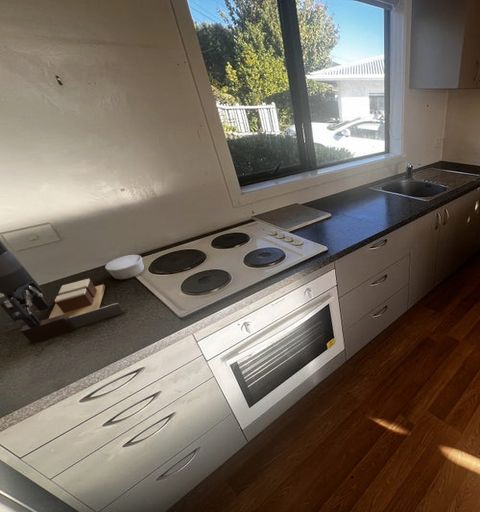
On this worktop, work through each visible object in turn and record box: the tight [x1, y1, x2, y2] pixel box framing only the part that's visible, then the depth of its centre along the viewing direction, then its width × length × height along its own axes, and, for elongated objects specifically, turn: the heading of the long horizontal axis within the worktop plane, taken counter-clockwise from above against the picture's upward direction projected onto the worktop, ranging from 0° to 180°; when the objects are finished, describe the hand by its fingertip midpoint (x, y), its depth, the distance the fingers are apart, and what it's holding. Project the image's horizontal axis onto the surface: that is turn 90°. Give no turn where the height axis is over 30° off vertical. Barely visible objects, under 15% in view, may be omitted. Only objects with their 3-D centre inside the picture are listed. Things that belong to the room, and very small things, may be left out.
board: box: [48, 284, 106, 319], centre depth 97 cm, size 12×18×1 cm, turn 34°
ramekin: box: [104, 254, 145, 280], centre depth 113 cm, size 11×11×5 cm
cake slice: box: [54, 288, 94, 313], centre depth 94 cm, size 7×3×5 cm, turn 124°
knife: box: [20, 302, 124, 345], centre depth 88 cm, size 21×3×5 cm, turn 124°
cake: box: [58, 278, 97, 298], centre depth 98 cm, size 7×5×5 cm
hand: (40, 317), depth 83 cm, fingers open, 8 cm apart
